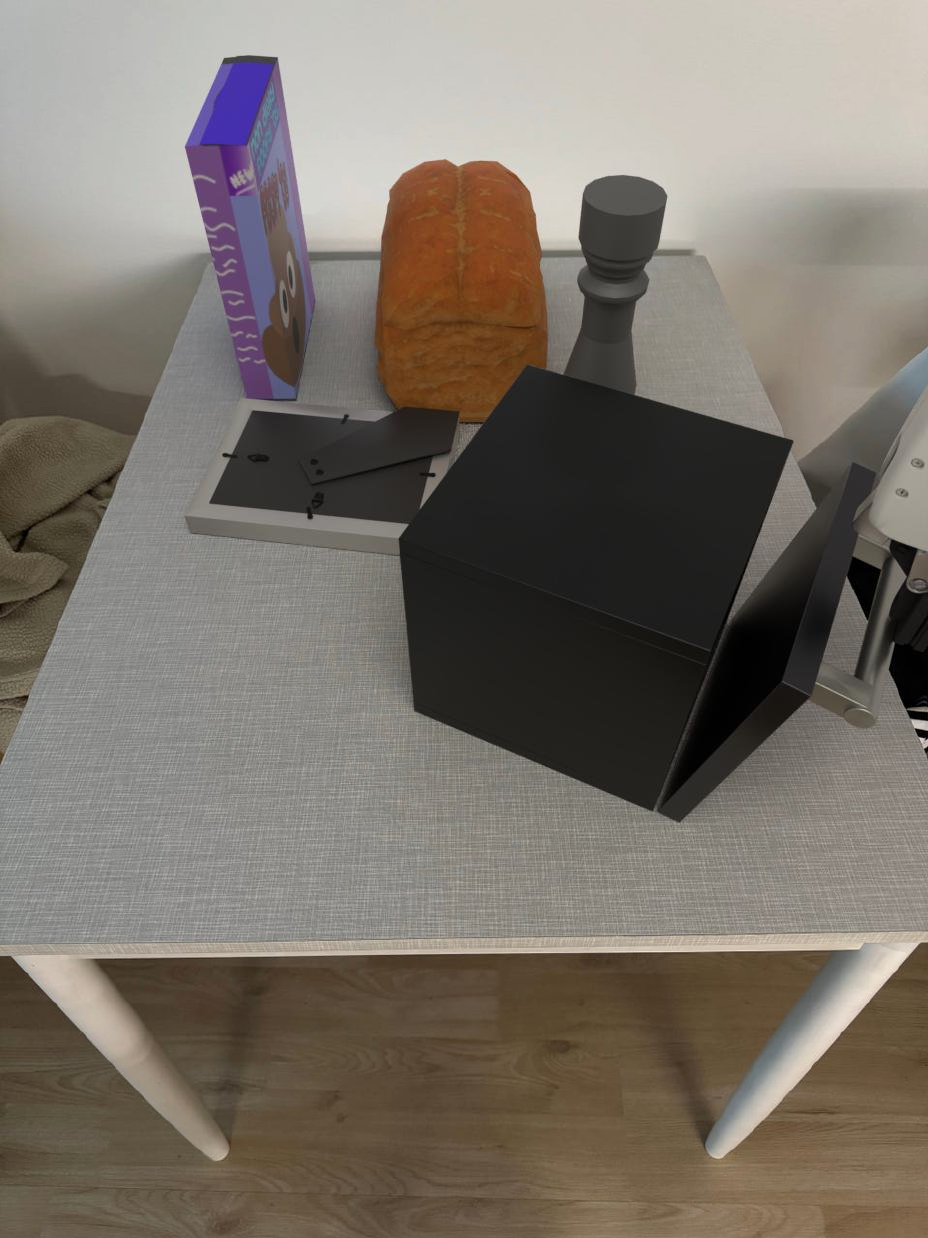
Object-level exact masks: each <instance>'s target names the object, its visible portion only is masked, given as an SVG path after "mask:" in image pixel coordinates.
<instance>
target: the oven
mask: <svg viewBox="0 0 928 1238" xmlns="http://www.w3.org/2000/svg"><path fill="white" fill-rule="evenodd" d="M563 374H564V373H559V372H555V371H552V370H548V369H546V370H545V369H542V368H538V367H535V366H531V365H528V364H527V365H526V366H525V368H524V369H523V370H522V372H521V373H520V374H519V376H518V377H517V378H516V380H515V381H514V382H513V384H512V385H511V386H510V388H509V389H508V391H507V392H506V393H505V395H504V396H503V397H502V399H501V400H500V401H499V403H498V404H497V405H496V407H495V408H494V410H493V411H492V412H491V414H490V415H489V416H488V418H487V419H486V420H485V422H482V425H480V426H479V428H478V430H477V431H476V432H475V434H474V435H473V437H472V438H471V439H470V441H469V442H468V443H467V445H466V446H465V447H464V449H463V450H462V451H461V453H460V454H459V456H458V457H457V458H456V460H454V462H453V465H452V466H451V468H450V469H449V471H448V472H447V473H446V475H445V476H444V477H443V479H442V480H441V481H440V483H439V484H438V485H437V487H436V488H435V489H434V491H433V492H432V494H431V495H430V496H429V498H428V499H427V500H426V502H425V503H424V504H423V506H422V507H421V508H420V510H419V511H418V513H417V514H416V515H415V517H414V518H413V519H412V521H411V522H410V523H409V525H408V526H407V527H406V529H405V530H404V531H403V533H402V534H401V536H400V537H399V550H400V555H399V561H400V562H399V563H400V572H401V584H402V585H401V586H402V594H403V604H404V613H405V615H404V616H405V624H406V625H405V626H406V627H405V628H406V637H407V646H408V647H407V648H408V658H409V669H410V680H411V689H412V701H413V711H414V712H416V713H418V714H420V715H423V716H425V717H428V718H430V719H432V720H435V721H436V722H440V723H441V724H444V725H447V726H448V727H451V728H454V729H456V730H458V731H461V732H463V733H465V734H466V733H467V734H468V735H470V736H473V737H476V738H478V739H480V740H483V741H485V742H487V743H489V744H492V745H494V746H496V747H499V748H501V749H504V750H506V751H508V752H511V753H513V754H515V755H518V756H520V757H523V758H525V759H527V760H530V761H532V762H535V763H537V764H539V765H541V766H543V767H546V768H549V769H550V770H553V771H555V772H558V773H560V774H563V775H566V776H567V777H570V778H572V779H574V780H577V781H580V782H582V783H584V784H587V785H590V786H592V787H594V788H596V789H598V790H600V791H603V792H604V793H608V794H610V795H613V796H615V797H617V798H620V799H622V800H625V801H627V802H629V803H632V804H634V805H637V806H639V807H641V808H643V809H645V810H648V811H651V812H654V810H655V808H656V805H657V802H658V800H659V797H660V795H661V792H662V789H663V787H664V785H665V783H666V779H667V776H668V774H669V771H670V769H671V766H672V764H673V760H674V758H675V756H676V754H677V751H678V748H679V747H680V746H679V745H680V743H681V740H682V738H683V736H684V734H685V730H686V728H687V726H688V723H689V720H690V717H691V715H692V712H693V710H694V707H695V705H696V702H697V699H698V697H699V694H700V691H701V689H702V687H703V683H704V682H705V679H706V676H707V673H708V671H709V668H710V666H711V663H712V661H713V659H714V655H715V653H716V651H717V648H718V645H719V643H720V640H721V638H722V635H723V632H724V630H725V627H726V625H727V622H728V620H729V617H730V614H731V611H732V609H733V605H734V604H735V600H736V598H737V595H738V592H739V589H740V587H741V585H742V581H743V579H744V577H745V573H746V571H747V568H748V566H749V562H750V561H751V557H752V555H753V552H754V550H755V546H756V544H757V542H758V539H759V537H760V535H761V534H760V533H761V531H762V528H763V525H764V523H765V520H766V517H767V514H768V512H769V508H770V507H771V504H772V502H773V499H774V497H775V493H776V491H777V488H778V485H779V483H780V480H781V477H782V474H783V472H784V469H785V466H786V463H787V461H788V458H789V456H790V453H791V450H792V447H793V445H794V439H790V438H787V437H783V436H780V435H776V434H774V433H770V432H765V431H762V430H759V429H755V428H751V427H748V426H745V425H741V424H739V423H738V424H737V423H734V422H731V421H727V420H723V419H720V418H716V417H714V416H710V415H707V414H703V413H699V412H696V411H693V410H688V409H685V408H681V407H678V406H675V405H671V404H668V403H664V402H660V401H657V400H655V399H650V398H647V397H643V396H639V395H637V394H635V395H633V394H629V393H626V392H622V391H619V390H615V389H612V388H608V387H605V386H601V385H598V384H594V383H591V382H587V381H584V380H580V379H577V378H573V377H570V376H566V375H563Z"/></svg>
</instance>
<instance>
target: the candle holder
mask: <svg viewBox="0 0 928 1238" xmlns="http://www.w3.org/2000/svg"><path fill="white" fill-rule="evenodd" d="M581 197H582V198H581V207H580V209H581V210H580V216H579V217H580V218H579V227H578V228H579V229H578V236H577V237H578V242H579V243H580V249H581V252H582V254H583V257H584V259H585V263H586V264H585V265H584V266H583V267H582V268H581V269H579V272H578V274H577V279H576V281H577V286H578V288H579V291H580V292H581V294H583V296H584V298H583V308H582V315H581V316H582V317H581V325H580V329H579V332H578V335H577V338H576V340H575V343H574V345H573V348H572V350H571V353H570V356H569V357H568V358H569V359H568V360H567V364H566V365H565V369H564V371H563V373H562V374H563V375H566V376H570V377H573V378H577V379H580V380H584V381H587V382H591V383H594V384H598V385H601V386H605V387H608V388H612V389H615V390H619V391H622V392H626V393H629V394H633V395H636V392H637V391H636V390H637V375H636V366H635V365H636V364H635V353H634V342H633V332H632V330H633V324H634V317H635V311H636V305H637V302H638V301H639V300H640V299H642V297H643V296H645V295H646V293H647V291H648V288H649V283H650V278H649V275H648V274H647V272H646V271H645V268H646V265H647V264H648V263H650V261H651V260H652V259H653V255H654V252H655V251H656V250H658V249H659V245H660V241H661V235H662V230H663V224H664V218H665V212H666V207H667V201H668V194H667V193H666V191H665V189H664V187H663V186H661V185H659V184H658V183H656V182H655V181H654V180H650V179H647V178H644V177H641V176H637V175H635V176H634V175H627V174H615V175H605V176H602V177H600V178H599V177H598V178H595V179H593V180H592V181H590V182H589V183H587V184H586V185H585V187H584V189H583V192H582V196H581Z"/></svg>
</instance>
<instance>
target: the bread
mask: <svg viewBox="0 0 928 1238" xmlns="http://www.w3.org/2000/svg"><path fill="white" fill-rule="evenodd" d="M388 195H389V199H388V202H387V205H386V214H385V219H384V224H383V227H382V232H381V237H380V238H381V239H380V259H379V260H380V263H379V264H380V265H379V275H378V285H377V286H378V287H377V298H376V305H375V321H374V323H375V324H374V339H373V346H374V347H375V349H376V350H377V364H376V371H377V377H378V381H379V382H380V384H381V386H382V387H383V389H384V390H385V392H386V393H387V396H388V397H389V398H390V400H391V401H392V403H393V405H394V406H395V408H396V409H397V410H399V409H401V408H403V407H405V406H406V407H417V408H428V409H439V410H450V411H459V418H460V423H484V422H485V420H486V419H487V418H488V416H489V415H490V414H491V412H492V411H493V410H494V408H495V407H496V405H497V404H498V403H499V401H500V400H501V399H502V397H503V396H504V395H505V393H506V392H507V391H508V389H509V388H510V386H511V385H512V384H513V382H514V381H515V380H516V378H517V377H518V376H519V374H520V373H521V372H522V370H523V369H524V368H525V366H526V365H527V364H528V365H531V366H535V367H538V368H542V369H545V370H547V369H548V368H547V367H548V365H547V364H548V345H549V334H548V331H549V330H548V328H549V327H548V309H547V301H546V299H547V298H546V289H545V288H546V287H545V285H544V276H543V272H542V269H541V261H542V257H543V251H542V246H541V241H540V236H539V233H538V224H537V214H536V212H535V209H534V205H533V200H532V195H531V191H530V190H529V189H528V187H527V186H526V185H525V184H524V183H523V181H522V179H521V178H520V177H519V176H518V175H517V173H515V172H513V171H512V170H510V169H509V168H508V167H506V166H505V165H503V164H502V163H500V162H499V161H497V160H470V161H468V162H466V163H463V164H461V165H457V164H455V163H454V162H452V161H450V160H448V159H447V158H444V159H436V160H426V161H423V162H422V163H420V164H418V165H416V166H414V167H412V168H410V169H409V170H406V171H405V172H402V174H401V175H400V176H399V177H398V179H397V180H396V181H395V182H394V184H393V185H392V186H391V187H390V188H389V190H388Z"/></svg>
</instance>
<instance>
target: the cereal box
mask: <svg viewBox="0 0 928 1238" xmlns="http://www.w3.org/2000/svg"><path fill="white" fill-rule="evenodd" d="M280 69H281V68H280V63H279V57H278V56H267V55H251V54H246V55H236V56H229V57H223V59H222V62H221V64H220V65H219V68H218V70H217V72H216V75H215V76H214V79H213V82H212V83H211V86H210V88H209V91H208V93H207V95H206V98H205V100H204V102H203V105H202V106H201V109H200V111H199V114H198V116H197V118H196V120H195V121H194V125H193V126H192V129H191V131H190V134H189V136H188V138H187V140H186V142H185V145H184V149H185V153H186V157H187V161H188V166H189V169H190V173H191V178H192V183H193V186H194V190H195V194H196V198H197V202H198V205H199V210H200V214H201V218H202V223H203V226H204V231H205V235H206V238H207V243H208V247H209V250H210V255H211V258H212V259H211V260H212V263H213V267H214V271H215V275H216V280H217V283H218V288H219V291H220V295H221V299H222V304H223V308H224V313H225V316H226V321H227V324H228V327H229V332H230V336H231V340H232V344H233V349H234V353H235V356H236V360H237V361H236V362H237V365H238V368H239V373H240V377H241V381H242V385H243V389H244V393H245V398H247V399H258V400H269V401H280V402H295V401H297V399H298V394H299V389H300V383H301V377H302V373H303V372H302V371H303V367H304V362H305V356H306V351H307V346H308V341H309V336H310V331H311V325H312V320H313V315H314V311H315V310H314V309H315V304H316V295H315V289H314V284H313V277H312V271H311V270H312V269H311V263H310V257H309V251H308V244H307V238H306V231H305V225H304V218H303V212H302V206H301V199H300V193H299V185H298V179H297V174H296V173H297V172H296V166H295V159H294V153H293V147H292V141H291V134H290V128H289V121H288V114H287V108H286V101H285V96H284V89H283V83H282V81H283V80H282V76H281V70H280Z"/></svg>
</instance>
